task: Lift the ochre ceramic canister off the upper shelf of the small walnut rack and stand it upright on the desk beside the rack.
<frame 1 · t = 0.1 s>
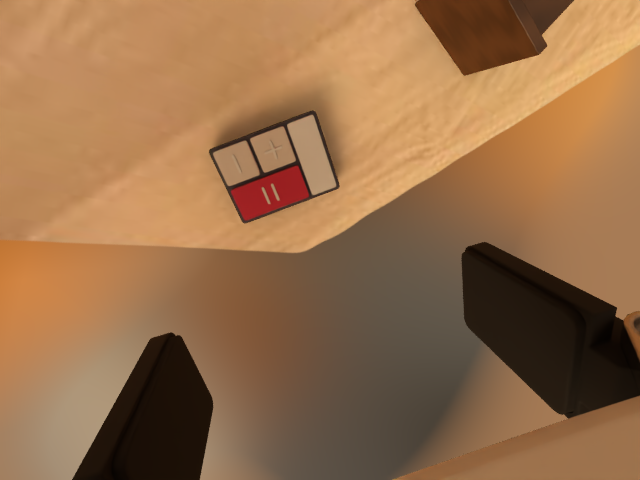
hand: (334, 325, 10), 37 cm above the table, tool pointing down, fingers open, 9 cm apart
calculator: (277, 166, 44), on the table
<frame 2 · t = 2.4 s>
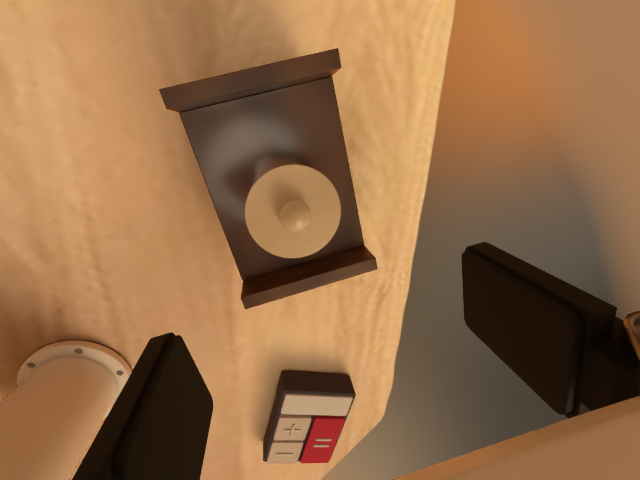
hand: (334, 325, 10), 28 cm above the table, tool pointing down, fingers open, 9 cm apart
shelf: (277, 173, 35), on the table
canister: (283, 187, 25), point 10 cm above the table, touching shelf
calculator: (305, 408, 48), on the table
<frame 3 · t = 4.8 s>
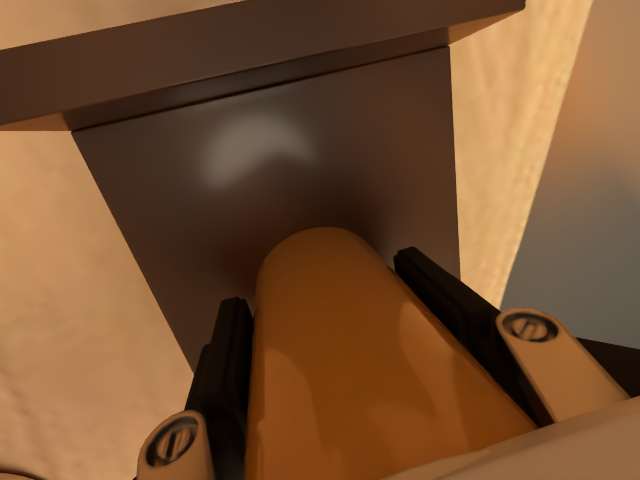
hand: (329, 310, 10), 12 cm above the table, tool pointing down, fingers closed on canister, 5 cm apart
shelf: (296, 219, 21), on the table
canister: (321, 288, 12), point 10 cm above the table, touching gripper, shelf
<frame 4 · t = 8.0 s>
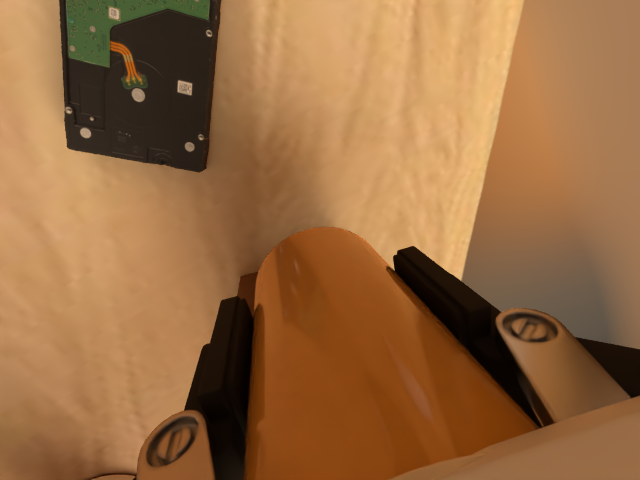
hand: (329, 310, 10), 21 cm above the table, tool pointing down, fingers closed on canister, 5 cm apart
shelf: (311, 323, 36), on the table
canister: (321, 288, 12), point 20 cm above the table, touching gripper
disk drive: (151, 70, 25), on the table
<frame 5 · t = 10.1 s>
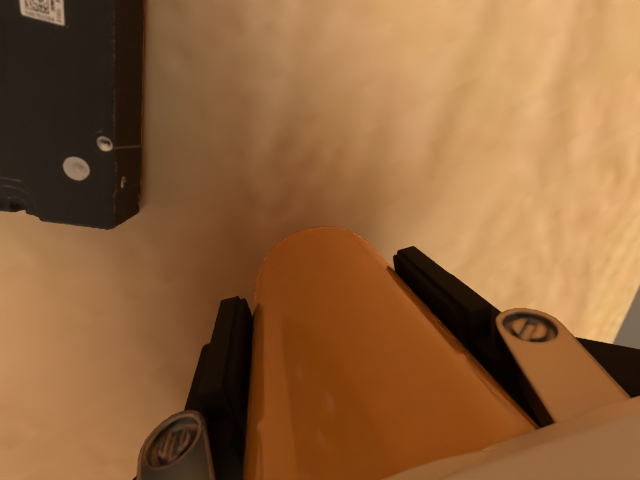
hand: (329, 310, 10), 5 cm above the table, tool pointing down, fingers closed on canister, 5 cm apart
canister: (321, 288, 12), point 3 cm above the table, touching gripper
when the fingers open (2 cm above the table, at t = 11.4 s): canister stays where it is, on the table.
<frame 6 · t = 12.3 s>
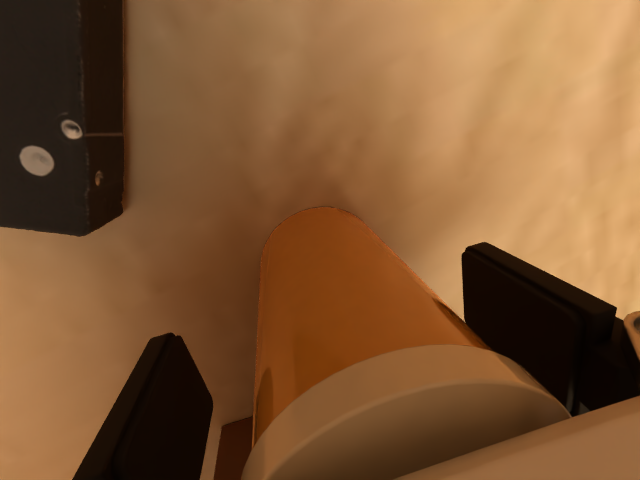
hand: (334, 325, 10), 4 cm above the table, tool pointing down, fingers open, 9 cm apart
canister: (321, 264, 13), on the table
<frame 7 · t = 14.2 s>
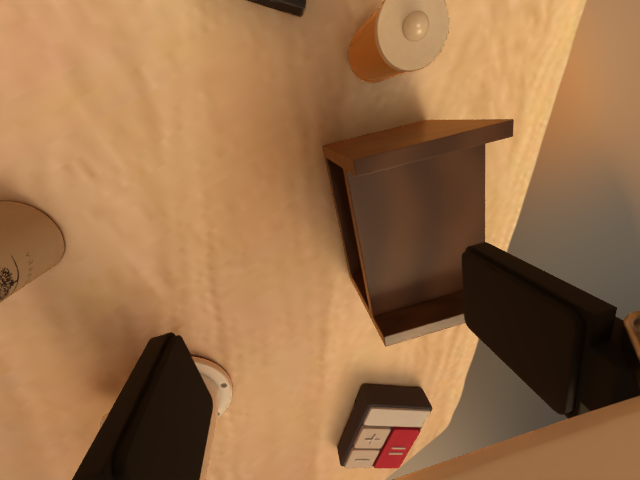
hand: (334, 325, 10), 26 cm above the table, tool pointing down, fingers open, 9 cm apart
shelf: (384, 205, 36), on the table
canister: (373, 53, 30), on the table
travel mug: (23, 236, 31), on the table
calculator: (378, 417, 50), on the table
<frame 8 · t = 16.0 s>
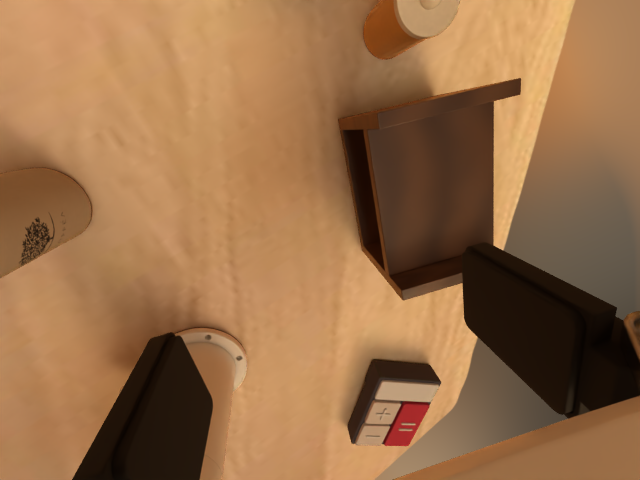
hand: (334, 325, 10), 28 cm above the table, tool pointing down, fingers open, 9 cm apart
shelf: (395, 179, 38), on the table
canister: (386, 32, 32), on the table
travel mug: (52, 204, 32), on the table
calculator: (387, 395, 51), on the table
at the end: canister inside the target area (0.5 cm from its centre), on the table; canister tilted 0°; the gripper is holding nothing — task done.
